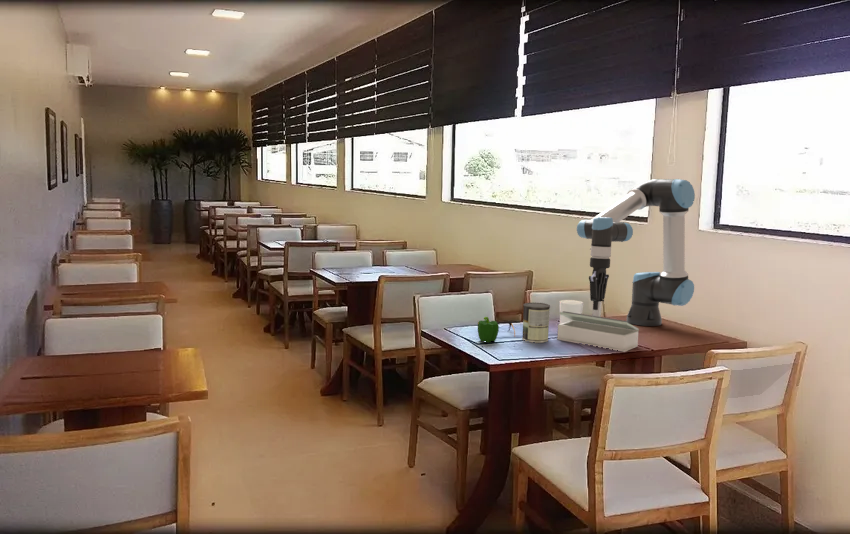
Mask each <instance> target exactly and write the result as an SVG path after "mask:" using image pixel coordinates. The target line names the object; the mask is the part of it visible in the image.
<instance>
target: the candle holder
mask: <svg viewBox="0 0 850 534" xmlns="http://www.w3.org/2000/svg"><path fill="white" fill-rule="evenodd" d="M583 307H584V302H583V301H581V300H576V299H575V300H574V299H562V300H561V299H560V300H559V324H562V323H565V322H568V321H572V320H571V319H569V318H567V317H565V316H563V315H561V314H560V312H563V311H565V312H571V313H578V314H583ZM574 321H575V320H574ZM580 322H581V321H580Z"/></svg>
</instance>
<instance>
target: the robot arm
mask: <svg viewBox="0 0 850 534" xmlns="http://www.w3.org/2000/svg"><path fill="white" fill-rule="evenodd" d="M695 198H696V195H695V188H694V186H693V185H692V184H691V183H690V181H688V180H686V179H682V178H681V179H679V178H664V179H663V178H653V179H649V180H647V181H644V182H642V183H639V184H637V185H636V186H634V187H633V188H631V189H629V190H628V191H627V193H626V195H625V196H623V197H622V198H621V199H619V200H618V201H615V203H613V204H612V205H610V206H609V207H607V208H606V209H605V210H603V211H601V212H599V214H596V215H595V216H593V217H592V218H591V219H581V220H579V222H578V223H577V225H576V233H577V235H578V237H579V238H583V239H586V240H591V245H590V249H589V250H590V258H589V266H590V268H592V274H591V275H589V276H588V280H589V298H590V302H592V315H591V316H597V317H602V316H601V312H602V302H605V298H606V291H607V287H608V286H607V284H608V280H609V278H610V274H609V273H608V274H607V269H609V268H610V267H611V256H612V242H614V243H615V242H618V243H624V242H628V241H629V240H631V239H632V237H633V236H634V234H633V233H634V229H633V227H632V225H631V224H630V223H628V222H622V221H623V220H624V219H626V218H628V216H630V215H631V214H633V213H634V212H636V211H637V210H638V211H639V210H642V209H644V208H645V207H646V208H647V207H658V208H659V210H658V211H659V213H660V214H661V215H662V221H663V222H662V235H663V237H662V240H663V241H662V245H663V246H662V255H663V256H662V257H663V259H662V260H663V261H662V263H663V264H662V265H663V266H662V267H663V270H662V271H661V272H660V271H645V272H644V271H642V272H636V273H634V275H633V279H632V289H631V290H632V292H631V293H632V294H631V305H630V308H629V310H628V312H627V315H626V321H627V322H628V323H629V324H631V325H634V326H635V325H636V326H644V327H655V326H656V327H657V326H661V325H662V322H663V321H662V320H663V319H662V315H661V312H660V308H659V304H660V303H661V304H667V305H672V306H677V307H679V306H680V307H684V306H686V305H687V304H689V302H691V300H692V298H693V295H694V292H695V284H694V281H692V280H691V279H689V273H688V272H687V271H686V270H685V267H686V265H685V263H686V262H685V259H686V258H685V250H686V249H685V246H686V245H685V238H686V237H685V235H686V234H685V233H686V232H685V223H686V221H685V216H686V214H687V213H688V212H689V208H691V207H692V206H693V205H694V202H695Z"/></svg>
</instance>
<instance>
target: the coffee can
mask: <svg viewBox="0 0 850 534" xmlns="http://www.w3.org/2000/svg"><path fill="white" fill-rule="evenodd" d="M550 308H551V305H550V304H548V303H545V302H544V303H543V302H526V303H523V314H522V315H523V316H522V318H523V319H522V339H523V341H524V340H525V341H524V342H527V341H529V342H528V343H533V342H535V343H536V344H537V343H538V344H539V343H540V344H541V343H543V344H544V343H546V342H548V341H549V330H550V329H549V328H550V327H549V326H550V325H549V324H550ZM535 343H534V344H535Z"/></svg>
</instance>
